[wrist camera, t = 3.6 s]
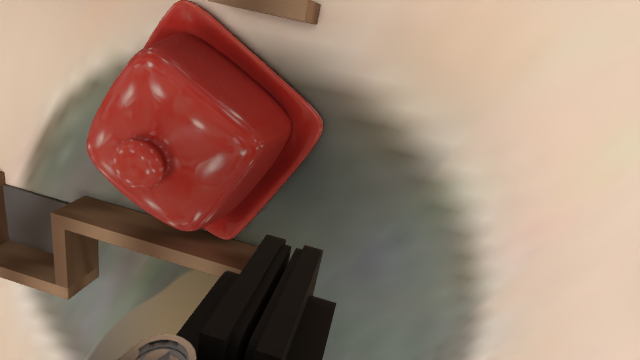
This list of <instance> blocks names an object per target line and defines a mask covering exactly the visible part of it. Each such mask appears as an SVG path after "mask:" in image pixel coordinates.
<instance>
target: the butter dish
mask: <svg viewBox="0 0 640 360" xmlns="http://www.w3.org/2000/svg"><path fill="white" fill-rule="evenodd" d="M322 131H323V121H322V118H321V117H320V115H319V114H318V112H317V111H316V110H315V109H314V108H313V107H312V106H311V105H310V104H309V103H308V102H307V101H306V100H305V99H304V98H303V97H302V96H301V95H300V94H299V93H297V92H296V91H295V90H294V89H293V88H292V87H291V86H289V85H288V84H287V83H286V82H285V81H284V80H283V79H282V78H281V77H279V76H278V75H277V74H276V73H275V72H274V71H273V70H272V69H271V68H270V67H268V66H267V65H266V64H265V63H264V62H263V61H262V60H261V59H260V58H258V57H257V56H256V55H255V54H254V53H253V52H251V51H250V50H249V49H248V48H247V47H246V46H245V45H244V44H243V43H241V42H240V41H239V40H238V39H237V38H236V37H235V36H234V35H232V34H231V33H230V32H229V31H228V30H227V29H226V28H225V27H224V26H223V25H221V24H220V23H219V22H218V21H217V20H216V19H215V18H214V17H213V16H211V15H210V14H209V13H208V12H207V11H205V10H204V9H202V8H201V7H199V6H198V5H197V4H195V3H193V2H191V1H188V0H180V1H178V2H176V3H175V4H174V5H173V6H172V7H171V8H170V9H169V10H168V11H167V13H166V14H165V16H164V17H163V18H162V20H161V21H160V22H159V24H158V26H157V27H156V29H155V30H154V32H153V33H152V35H151V37H150V38H149V40H148V42H147V43H146V45H145V47H144V49H142V50H141V51H139V52H138V53H137V54H136V55H135V56H134V57H133V58H132V59H131V60H130V61H129V62H128V64H127V65H126V66H125V67H124V69H123V70H122V71H121V73H120V74H119V76H118V77H117V79H116V80H115V82H114V83H113V85H112V86H111V88H110V90H109V91H108V93H107V95H106V96H105V98H104V100H103V102H102V104H101V106H100V108H99V109H98V111H97V114H96V115H95V117H94V120H93V122H92V125H91V128H90V130H89V134H88V138H87V152H88V154H89V157H90V159H91V160H92V162H93V163H94V165H95V166H96V167H97V168H98V169H99V171H100V172H101V173H102V174H103V175H104V176H105V177H106V178H107V179H108V180H109V181H110V182H111V183H112V184H113V185H114V186H115V187H116V188H117V189H118V190H120V191H121V192H122V193H123V194H124V195H125V196H127V197H128V198H129V199H130V200H131V201H133V202H134V203H135V204H137V205H138V206H139V207H140V208H142V209H143V210H145V211H146V212H148V213H149V214H151V215H152V216H154V217H155V218H157V219H159V220H161V221H162V222H164V223H166V224H168V225H170V226H172V227H174V228H176V229H179V230H183V231H195V230H198V229H201V228H204V229H205V230H207V231H208V232H210V233H212V234H213V235H215V236H217V237H219V238H221V239H225V240H228V239H232V238H234V237H235V236H237V235H238V234H239V233H240V232H241V231H242V230H243V229H244V228H245V227H246V226H247V225H248V224H249V223H250V221H251V220H252V219H253V218H254V217H255V216H256V215H257V214H258V213H259V211H260V210H261V209H262V208H263V207H264V206H265V204H266V203H267V202H268V201H269V200H270V199H271V198H272V197H273V196H274V194H275V193H276V192H277V191H278V190H279V189H280V187H281V186H282V185H283V184H284V183H285V182H286V181H287V179H288V178H289V177H290V176H291V175H292V174H293V173H294V171H295V170H296V169H297V167H298V166H299V165H300V164H301V163H302V162H303V160H304V159H305V158H306V157H307V155H308V154H309V153H310V151H311V150H312V149H313V148H314V146H315V144H316V143H317V142H318V140H319V138H320V137H321V134H322Z"/></svg>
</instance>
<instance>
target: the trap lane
mask: <svg viewBox="0 0 640 360" xmlns="http://www.w3.org/2000/svg"><path fill="white" fill-rule="evenodd" d="M208 1H211V2H216V3H220V4H225V5H229V6H234V7H239V8H243V9H248V10H252V11H257V12H262V13H266V14H271V15H276V16H280V17H285V18H289V19H294V20H299V21H303V22H308V23H313V24H317V22H318V17H319V11H320V6H321V5H320V4H317V3H315V2H313V1H311V0H208ZM98 240H101V241H104V242H107V243H110V244H114V245H117V246H120V247H123V248H127V249H130V250H133V251H137V252H140V253H143V254H146V255H150V256H153V257H156V258H159V259H163V260H166V261H169V262H172V263H176V264H179V265H182V266H185V267H189V268H192V269H195V270H199V271H202V272H205V273H209V274H212V275H215V276H218V277H221V275H222V274H223V273H224V272H225V271H227V270H228V271H231V272H234V273H238V274H240V273H241V271H242V270H243V268H244V267H245V266H246V264H247V263H248V261H249V260H250V258H251V257H252V255H253V254H254V252H255V251H256V250H257V248H258V247H257V246H254V245H250V244H247V243H243V242H240V241H236V240H233V239H228V240H225V239H221V238H219V237H217V236H215V235H213V234H212V233H209V232H206V231H202V230H199V229H198V230H195V231H183V230H179V229H176V228H174V227H172V226H170V225H168V224H166V223H164V222H162V221H161V220H159V219H157V218H155V217H154V216H151V215H148V214H144V213H141V212H137V211H134V210H131V209H127V208H124V207H120V206H117V205H114V204H110V203H107V202H103V201H100V200H96V199H93V198H90V197H86V196H84V197H82V198H80V199H78V200H76V201H74V202H71V203H67V202H63V201H60V200H57V199H53V198H50V197H47V196H43V195H40V194H37V193H33V192H30V191H26V190H23V189H20V188H16V187H13V186H10V185H6V184H5V179H4V172H1V171H0V277H1V278H4V279H8V280H11V281H14V282H17V283H20V284H23V285H26V286H29V287H32V288H35V289H38V290H41V291H44V292H47V293H50V294H53V295H56V296H59V297H62V298H65V299H68V300H69V299H70V298H71V297H72V296H74V295H75V294H76V293H78V292H79V291H80V290H82V289H83V288H84V287H86V286H87V285H88V284H89V283H91V282H92V281H93V280H95V279H96V278H97V277H98Z"/></svg>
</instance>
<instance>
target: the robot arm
mask: <svg viewBox="0 0 640 360" xmlns="http://www.w3.org/2000/svg"><path fill="white" fill-rule="evenodd" d="M285 244H286V240H285V239H282V238H278V237H275V236H271V235H266V236H265V238H264V239H263V241H262V242H261V244H260V245H259V247H258V248H257V250H256V251H255V252H254V254H253V255H252V257H251V258H250V260H249V261H248V263H247V264H246V266H245V267H244V268H243V270H242V271H241V273H240V274H238V273H234V272H231V271H228V270H227V271H225V272H224V273H223V274H222V275H221V277H220V278H219V279H218V281H217V282H216V283H215V285H214V286H213V287H212V289H211V290H210V291H209V293H208V294H207V295H206V296H205V298H204V299H203V300H202V302H201V303H200V304H199V306H198V307H197V308H196V310H195V311H194V313H193V314H192V315H191V316H190V317H189V319H188V320H187V321H186V323H185V324H184V325H183V327H182V328H181V329H180V331H179V332H178V333H177V335H169V334H160V335H154V336H150V337H148V338H146V339H143V340H141V341H139V342H138V343H136V344H135V345H133V346H132V347H131V348H130V349H129V350H127V351H126V352H125V353H124V354H123V355H122V356H121V357H120V358H119V359H117V360H322V358H323V354H324V350H325V346H326V342H327V338H328V334H329V330H330V326H331V322H332V318H333V314H334V310H335V306H336V303H334V302H331V301H327V300H324V299H321V298H317V297H314V296H313V292H314V288H315V284H316V279H317V275H318V271H319V267H320V262H321V258H322V254H323V250H320V249H317V248H313V247H310V246H306V245H305V246H304V247H303V250H302V249H298V248H296V249H295V251H294V253H293V255H292V257H291V259H290V261H289V257H290V252H291V246H288V245H285ZM288 262H289V263H288Z"/></svg>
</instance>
